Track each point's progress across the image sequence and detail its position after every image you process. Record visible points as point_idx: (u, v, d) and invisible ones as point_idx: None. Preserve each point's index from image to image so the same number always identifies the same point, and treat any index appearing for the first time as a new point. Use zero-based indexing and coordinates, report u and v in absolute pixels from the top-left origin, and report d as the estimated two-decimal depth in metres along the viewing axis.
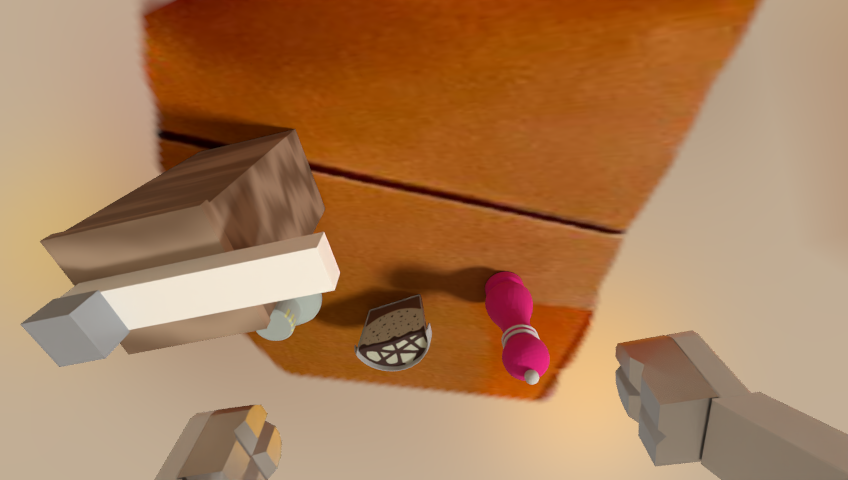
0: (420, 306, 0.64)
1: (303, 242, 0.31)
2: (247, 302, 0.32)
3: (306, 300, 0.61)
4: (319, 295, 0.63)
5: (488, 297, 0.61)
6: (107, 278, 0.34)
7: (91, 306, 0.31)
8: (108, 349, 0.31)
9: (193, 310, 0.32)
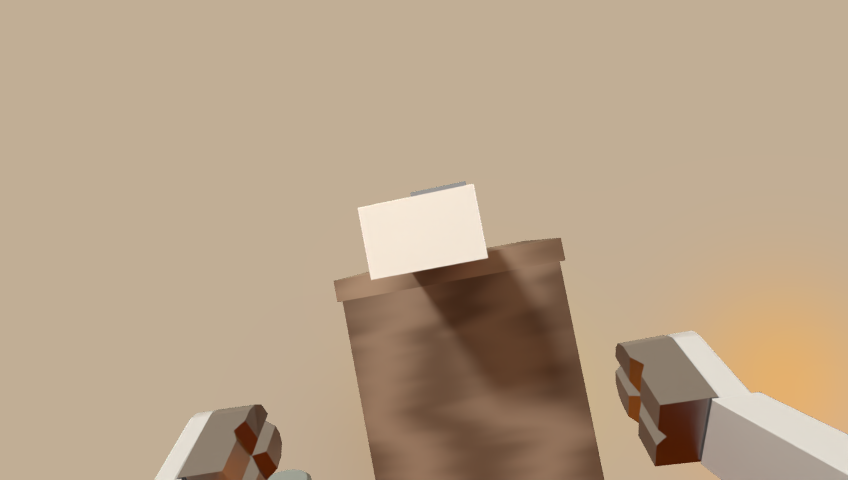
0: None
1: None
2: None
3: None
4: None
5: None
6: None
7: None
8: None
9: None
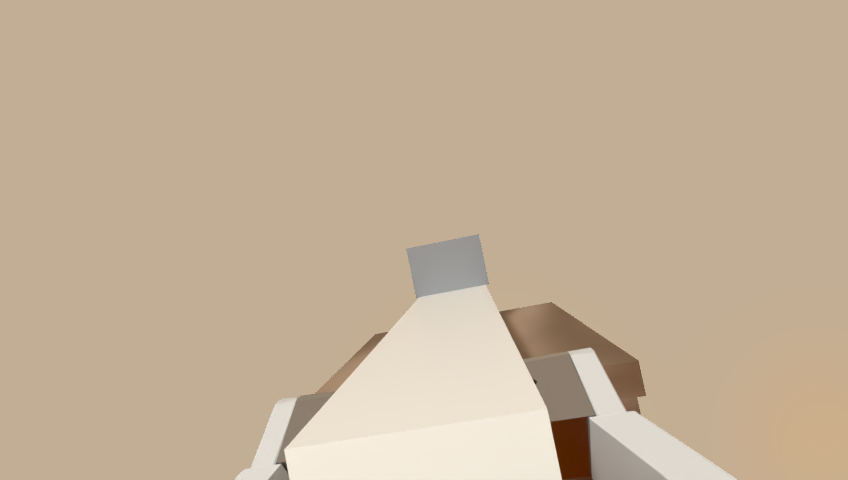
0: None
1: None
2: (393, 337, 0.13)
3: None
4: None
5: None
6: None
7: (473, 264, 0.24)
8: (414, 257, 0.24)
9: (418, 312, 0.18)
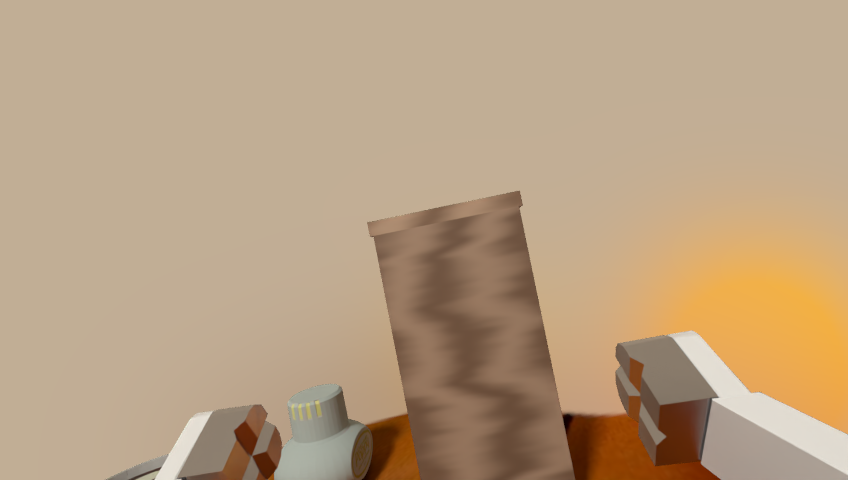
0: None
1: None
2: None
3: (310, 454, 0.40)
4: None
5: None
6: None
7: None
8: None
9: None
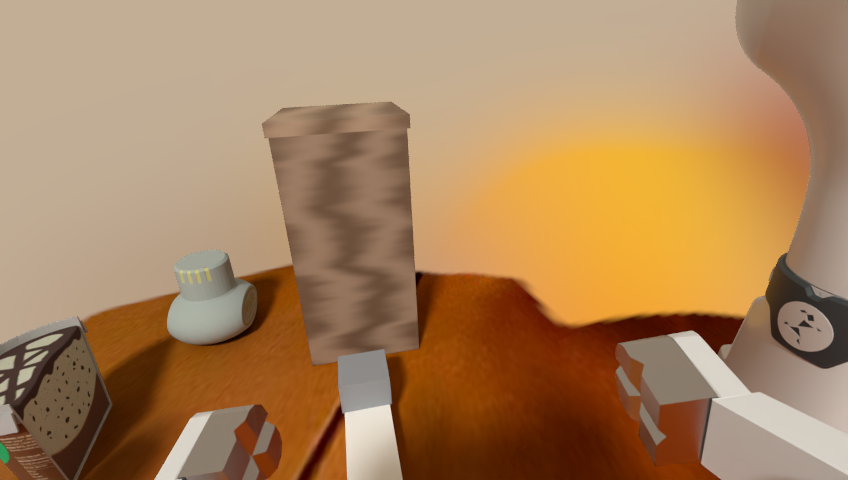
0: (54, 461, 0.31)
1: None
2: None
3: (203, 310, 0.46)
4: (196, 332, 0.45)
5: None
6: None
7: (383, 394, 0.35)
8: (343, 392, 0.34)
9: (356, 476, 0.30)
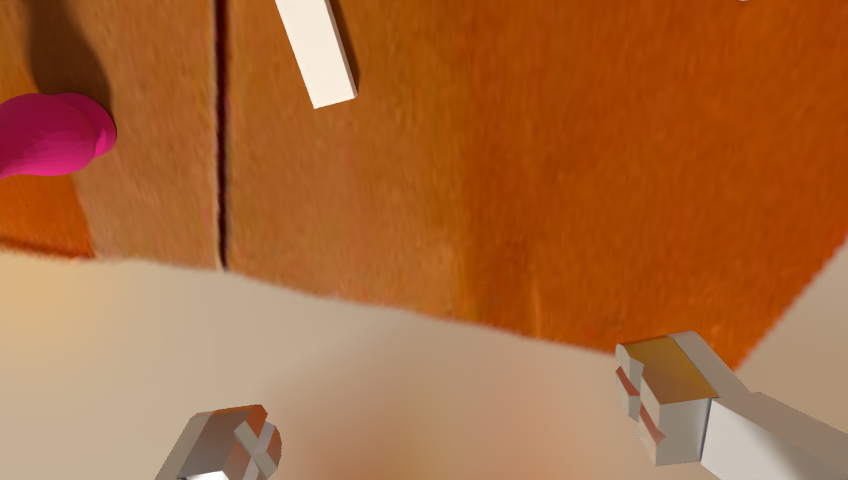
0: None
1: (351, 80, 0.38)
2: (288, 23, 0.34)
3: None
4: None
5: (45, 98, 0.35)
6: None
7: None
8: None
9: None
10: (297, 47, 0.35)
